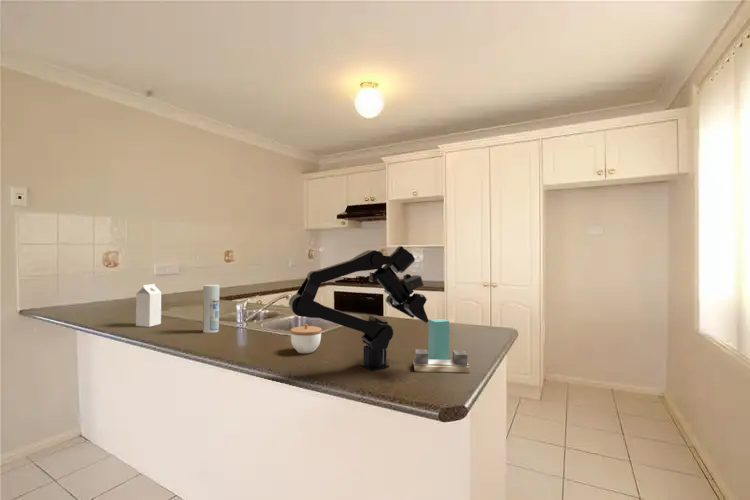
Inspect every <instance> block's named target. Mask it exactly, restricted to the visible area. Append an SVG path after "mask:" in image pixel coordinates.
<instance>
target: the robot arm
mask: <svg viewBox="0 0 750 500" xmlns="http://www.w3.org/2000/svg"><path fill="white" fill-rule="evenodd" d="M415 261H416V258H415V257H414V255H413V254H412V253H410V251H408V250H407V249H406V248H404V246H403V245H400V246H398V247H396V249H395V250H394V251H393V252H392V253H391V254H390V255H384V254H383V253H382V252H381V251H380V250H377V249H376V250H375V249H369V250H365V251H363V252H362V253H359V254H357V255H355V257H353V258H350V259H349V260H346V261H343V262H340V263H336V264H333V265H330V266H326V267H324V268H319V269H316V270H310V271H309V272H308V273H307V275H306V278H305V280H304V281H303V282H302V284H301V285H300V286H299V288H298V290H297V291H296V293H294V294H293V295H292V296H291V297H290V299H289V300H288V307H289V309H290V311H291V312H292V313H294V314H295V315H296V316H298V317H301V318H309V319H322V320H324V321H328V322H331V323H334V324H337V325H340V326H343V327H346V328H349V329H352V330H355V331H359V332H361V333H364V334H363V335H362V336H361V340H362V341H361V342H362V343H363V344H364V346H363V354H362V355H363V358H362V359H363V362H361V363H360V365H359V366H361V367H363V368H366V369H368V370H370V371H377V370H380V369H381V370H382V369H385V368H389V364H387V349H388V346H389V344H390V341H391V340H392V339H393V336H394V329H393V326H391V325H390V324H389V322H388V321H386V320H384V319H382V318H379V317H374V316H373V315H371V314H369V315H368V318H362V317H358V316H356V315H352V314H350V313H346V312H345V311H342V310H337V309H335V308H332V307H329V306H326V305H323V304H321V303H319V302H318V301H316V300H315V299H316V296H317V294H318V291H319V289H320V286H321V284H323V283H326V282H330V281H331V280H335V279H339V278H341V277H345V276H349V275H351V274H353V273H357V272H367V271H374V272H369V276H368V277H369V278H368V281H369V282H371V283H372V282H373V283H374V282H376V281H377V282H378V283H379V284H380V286H382V287H381V288H383V289H384V290H383V292H384V293H385V294H387V296H386V298H385V302H386V303H387V304H388V306H390V307H392V309H395V310H397V311H398V312H401V313H403V314H404V315H407V316H408V317H410V318H411V319H414V318H417V319H418V320H420V321H422V322H423V323H425V324H427V323H429V318H428V315H427V313H426V310H425V307H424V306H425V304H426V302H427V301H428V299H427V297H426V296H425V295H424V294H423V293H414V290H415V289H418V288H420V287H421V288H422V287H423V286H425V285H424V283H423V282H424V281H423V279H422V276H421V275H411V274H409V273H406V274H404V275H403V278H402V279H400V277H399V276H398V275H397V274H399V273H400V274H403V273H404V272H405V271H406V270H407V269H409V267H410V266H412V265H413V264H414V263H415Z"/></svg>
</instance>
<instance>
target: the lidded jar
mask: <svg viewBox="0 0 750 500" xmlns="http://www.w3.org/2000/svg"><path fill="white" fill-rule="evenodd" d="M321 339H322V328H321V327H319V326H313V325H308V323H305V324H304V326H294V327H292V328H291V329H290V342H291V346H292V347H293V348H294V350H295V351H296V352H297V353H298V354H311V353H314V352H315V350H316V349H317V348H319V346H320V344H321Z"/></svg>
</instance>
